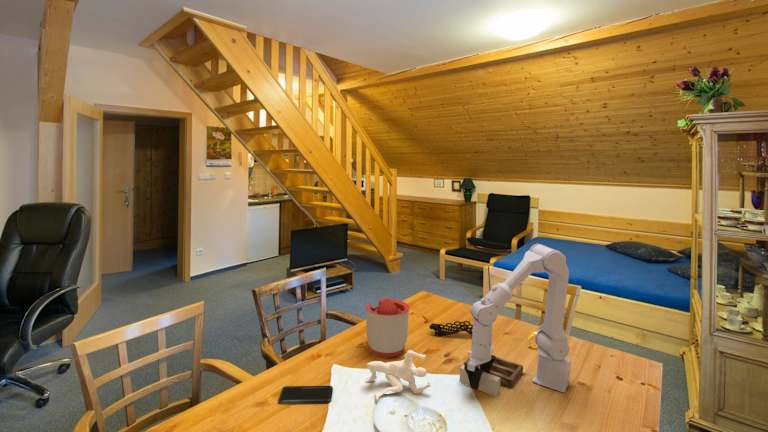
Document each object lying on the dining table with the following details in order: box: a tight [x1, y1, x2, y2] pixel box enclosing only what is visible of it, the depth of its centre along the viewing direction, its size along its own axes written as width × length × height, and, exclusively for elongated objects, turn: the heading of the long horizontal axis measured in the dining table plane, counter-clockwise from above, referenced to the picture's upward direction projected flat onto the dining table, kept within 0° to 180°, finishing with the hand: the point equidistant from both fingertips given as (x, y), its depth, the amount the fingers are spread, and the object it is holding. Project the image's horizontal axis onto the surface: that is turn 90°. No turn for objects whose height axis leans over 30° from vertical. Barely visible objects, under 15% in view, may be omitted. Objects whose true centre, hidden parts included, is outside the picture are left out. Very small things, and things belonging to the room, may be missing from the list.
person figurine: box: [364, 349, 432, 402], centre depth 120 cm, size 13×13×18 cm
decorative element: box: [428, 320, 473, 338], centre depth 157 cm, size 22×5×6 cm, turn 85°
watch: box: [527, 331, 538, 350], centre depth 147 cm, size 6×3×6 cm, turn 88°
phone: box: [277, 385, 334, 405], centre depth 115 cm, size 8×1×15 cm
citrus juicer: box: [365, 297, 410, 359], centre depth 143 cm, size 16×17×20 cm
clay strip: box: [459, 364, 501, 397], centre depth 121 cm, size 12×2×5 cm, turn 53°
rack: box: [463, 356, 524, 389], centre depth 130 cm, size 16×11×3 cm
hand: (479, 382), depth 121 cm, fingers open, 7 cm apart
